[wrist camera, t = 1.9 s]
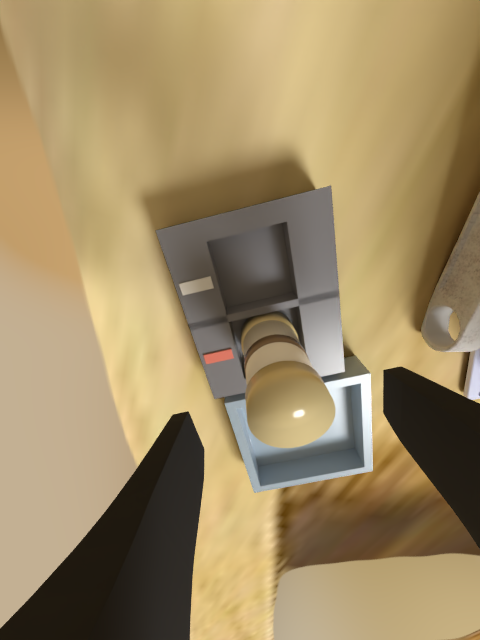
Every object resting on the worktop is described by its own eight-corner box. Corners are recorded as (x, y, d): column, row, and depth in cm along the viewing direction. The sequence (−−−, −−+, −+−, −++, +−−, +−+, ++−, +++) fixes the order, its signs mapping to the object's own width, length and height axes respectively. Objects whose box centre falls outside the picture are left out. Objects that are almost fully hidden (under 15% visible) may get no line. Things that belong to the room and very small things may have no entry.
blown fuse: (289, 304, 14) (331, 371, 8) (297, 351, 15) (338, 439, 10) (234, 317, 14) (237, 391, 8) (246, 362, 16) (256, 455, 10)
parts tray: (355, 355, 17) (370, 373, 15) (360, 447, 20) (372, 470, 18) (225, 383, 17) (224, 403, 15) (252, 468, 21) (254, 492, 19)
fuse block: (316, 189, 13) (332, 185, 11) (332, 354, 17) (345, 372, 15) (165, 227, 13) (154, 230, 11) (216, 379, 17) (214, 400, 15)
